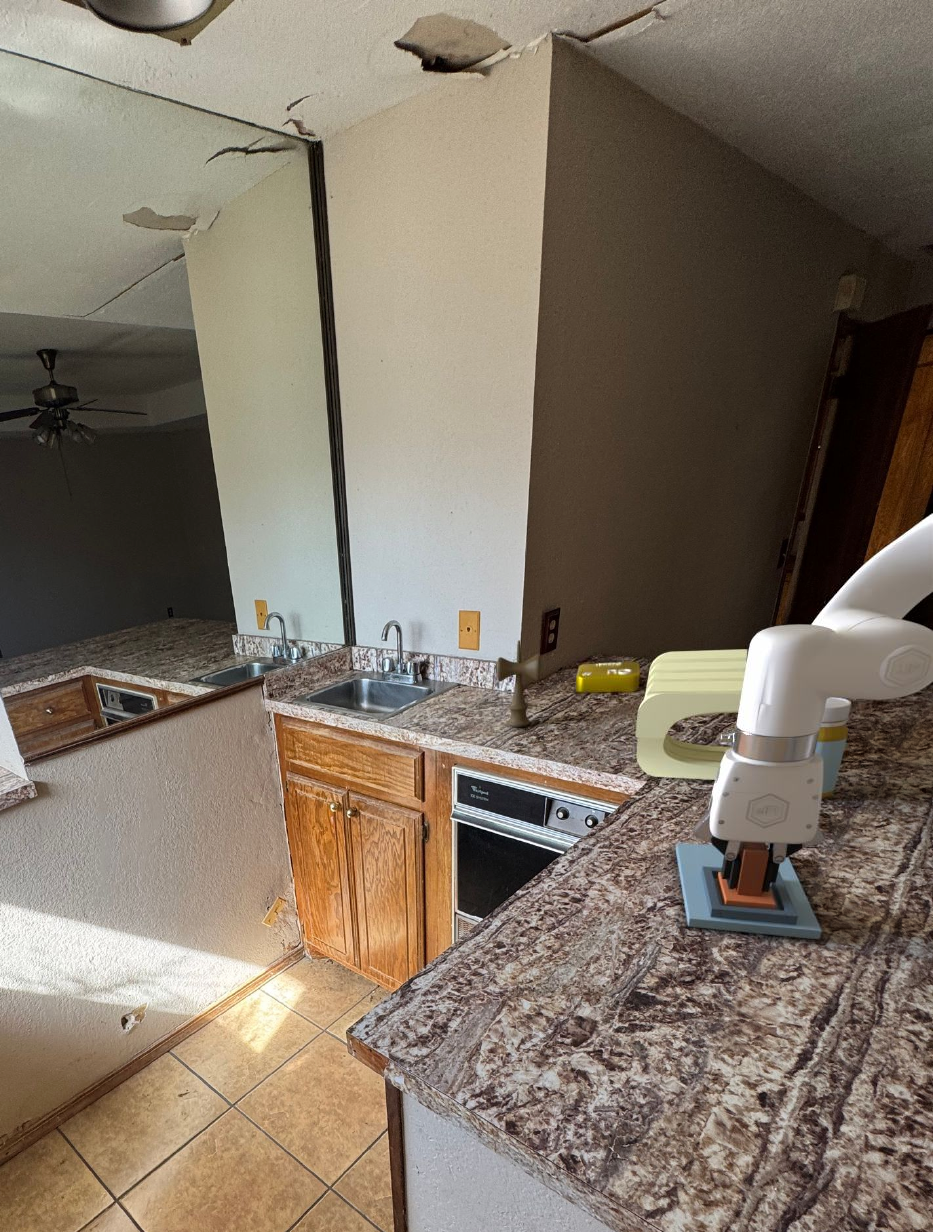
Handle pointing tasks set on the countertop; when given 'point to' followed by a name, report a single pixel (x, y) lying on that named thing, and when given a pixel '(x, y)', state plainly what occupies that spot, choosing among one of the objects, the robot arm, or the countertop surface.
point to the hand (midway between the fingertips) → (746, 883)
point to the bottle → (832, 740)
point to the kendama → (519, 684)
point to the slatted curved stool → (687, 709)
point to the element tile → (608, 677)
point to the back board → (709, 912)
